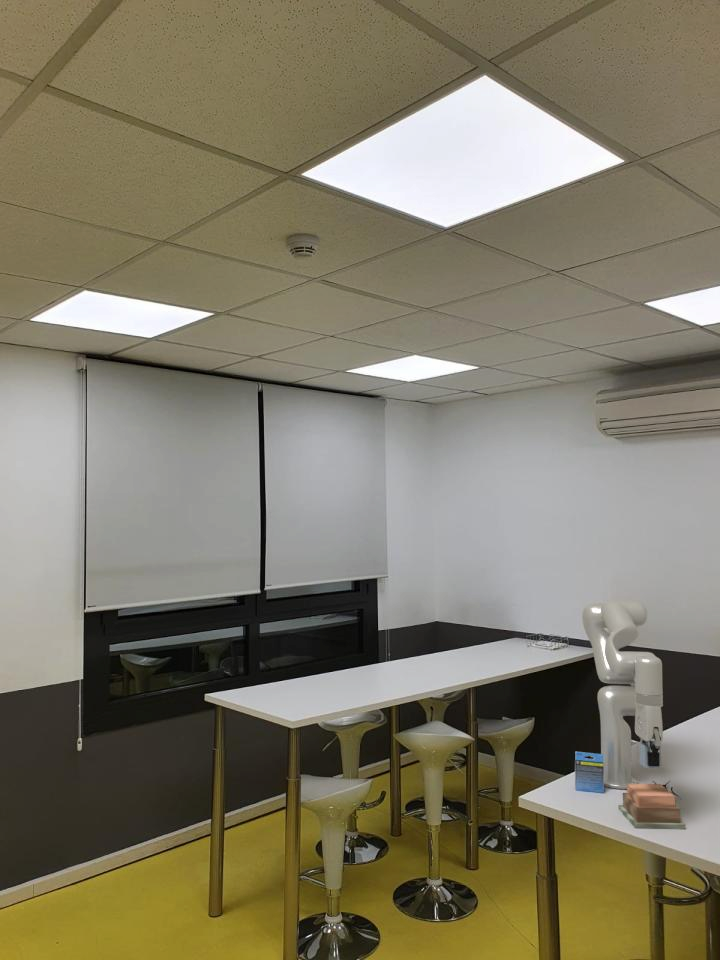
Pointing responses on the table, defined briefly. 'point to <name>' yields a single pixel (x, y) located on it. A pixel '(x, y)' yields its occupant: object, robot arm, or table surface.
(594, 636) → the robot arm
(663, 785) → the creature
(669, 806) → the stepped plate stack
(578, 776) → the label tape box
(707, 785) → the table surface
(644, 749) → the slate brick
